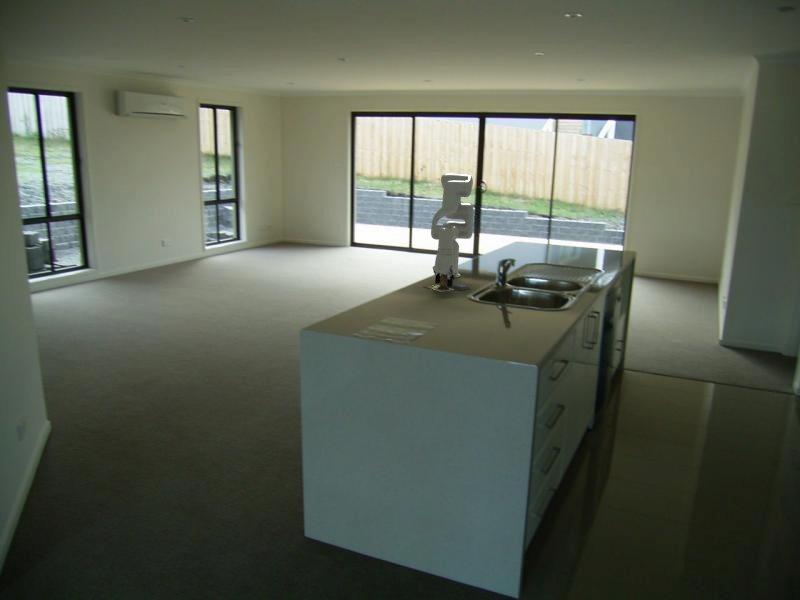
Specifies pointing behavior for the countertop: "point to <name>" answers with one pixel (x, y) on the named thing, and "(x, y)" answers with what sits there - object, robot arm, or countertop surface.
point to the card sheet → (439, 289)
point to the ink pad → (459, 287)
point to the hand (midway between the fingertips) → (443, 284)
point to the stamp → (443, 282)
